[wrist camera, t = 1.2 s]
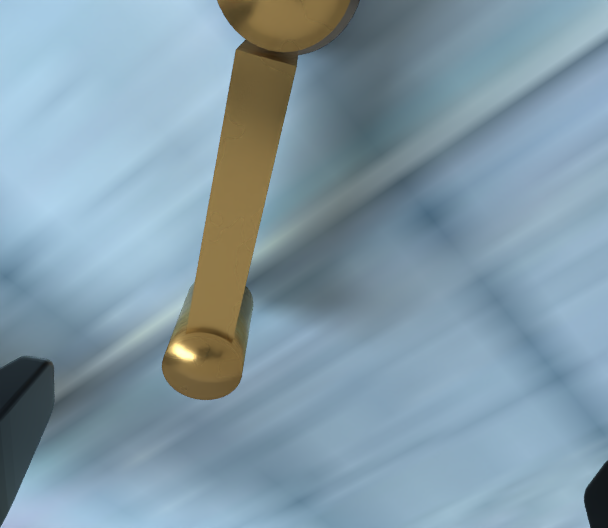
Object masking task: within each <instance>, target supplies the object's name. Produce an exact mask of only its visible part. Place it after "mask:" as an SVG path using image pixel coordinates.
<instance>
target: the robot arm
mask: <svg viewBox="0 0 608 528" xmlns="http://www.w3.org/2000/svg"><path fill="white" fill-rule="evenodd" d="M53 406H54V366H53V363H52V362H51V361H50V360H48V359H42V358H37V357H31V356H23V357H20V358H18V359H16V360H14V361H12V362H10V363H9V364H7V365H5V366H3V367H2V368H0V527H1V525H2V523H3V521H4V520H5V518H6V516H7V514H8V512H9V510H10V508H11V506H12V503H13V501H14V499H15V497H16V495H17V492H18V490H19V488H20V485H21V483H22V481H23V478H24V476H25V474H26V471H27V469H28V467H29V465H30V462H31V460H32V458H33V455H34V453H35V451H36V448H37V446H38V444H39V442H40V439H41V437H42V435H43V432H44V430H45V428H46V425H47V423H48V421H49V419H50V416H51V413H52V410H53ZM584 503H585V508H586V512H587V516H588V520H589V524H590V528H608V461H606V462H605V464H604V465H603V466H602V468H601V469H600V470H599V472H598V473H597V474H596V476H595V477H594V478H593V480H592V481H591V482H590V484H589V485H588V486H587V488H586V490H585V494H584Z"/></svg>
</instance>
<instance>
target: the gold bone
mask: <svg viewBox="0 0 608 528" xmlns="http://www.w3.org/2000/svg"><path fill="white" fill-rule="evenodd" d="M217 1H218V4H219V6H220V8H221V10H222V12H223V14H224V16H225V17H226V19H227V20H228V22H229V23H230V24H231V26H232V27H233V28H234V29H235V30H236V31H237V32H238V33H239V34H240V35H241V36H242V37H243V38H245V39H246V40H245V41H244V42H243V43H242V44H241V45H240V46H239V47H238V48H237V49H236V52H235V58H234V64H233V69H232V75H231V81H230V86H229V92H228V98H227V103H226V109H225V115H224V120H223V126H222V132H221V137H220V143H219V149H218V154H217V160H216V166H215V171H214V177H213V183H212V188H211V194H210V199H209V205H208V211H207V216H206V222H205V228H204V233H203V239H202V245H201V250H200V256H199V262H198V267H197V273H196V279H195V282H194V283H193V285H192V286H191V287H190V289H189V291H188V294H187V297H186V299H185V302H184V305H183V307H182V310H181V312H180V315H179V318H178V320H177V323H176V326H175V328H174V331H173V334H172V336H171V339H170V342H169V344H168V347H167V350H166V352H165V355H164V358H163V361H162V371H163V374H164V377H165V379H166V380H167V382H168V383H169V384H170V386H172V387H173V388H174V389H175V390H176V391H178V392H179V393H181V394H183V395H185V396H187V397H190V398H194V399H200V400H212V399H218V398H221V397H224V396H226V395H228V394H230V393H231V392H232V391H233V390H234V389H236V387H237V386H238V384H239V383H240V380H241V377H242V371H243V365H244V359H245V353H246V347H247V341H248V335H249V329H250V322H251V316H252V310H253V298H252V295H251V293H250V291H249V289H248V288H247V287H246V286H245V285H246V281H247V277H248V273H249V268H250V264H251V260H252V255H253V251H254V247H255V243H256V238H257V234H258V230H259V225H260V221H261V217H262V213H263V208H264V204H265V200H266V195H267V191H268V187H269V183H270V178H271V174H272V170H273V165H274V161H275V157H276V153H277V148H278V144H279V140H280V135H281V131H282V127H283V123H284V118H285V114H286V110H287V105H288V101H289V97H290V93H291V88H292V84H293V80H294V75H295V71H296V67H297V59H298V51H299V50H303V49H305V48H308V47H311V46H313V45H314V44H316V43H318V42H320V41H321V40H322V39H324V38H325V37H327V36H328V35H329V34H330V33H331V32H332V31H333V30H334V28H335V27H336V26H337V25H338V24H339V22H340V21H341V19H342V17H343V16H344V14H345V12H346V10H347V8H348V5H349V3H350V0H217Z"/></svg>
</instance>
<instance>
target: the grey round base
mask: <svg viewBox="0 0 608 528" xmlns="http://www.w3.org/2000/svg"><path fill="white" fill-rule="evenodd" d="M359 1H360V0H350V3H349V5H348V8H347V10H346V12H345V14H344V16H343V17H342V19H341V21H340V22H339V24H338V25H337V26H336V27H335V28H334V30H333V31H332V32H331V33H330V34H329V35H328V36H327V37H325V38H324V39H322V40H321V41H320V42H318V43H316V44H314V45H313V46H311V47H308V48H305V49H303V50H299V51H298V55H302V54H306V53H310V52H313V51H315V50H318V49H320V48H322V47H323V46H325V45H327V44H328V43H330V42H331V41H332V40H334V39H335V38H336V37H337V36H338V35H339V34H340V33H341V32H342V31H343V30H344V28H345V27H346V26H347V25H348V23H349V22H350V20H351V18H352V17H353V15H354V13H355V11H356V9H357V7H358V4H359Z"/></svg>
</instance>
